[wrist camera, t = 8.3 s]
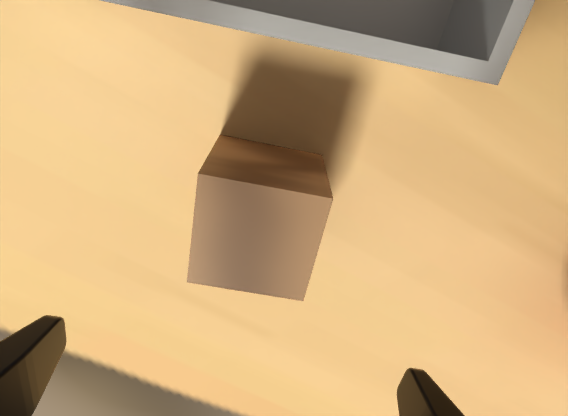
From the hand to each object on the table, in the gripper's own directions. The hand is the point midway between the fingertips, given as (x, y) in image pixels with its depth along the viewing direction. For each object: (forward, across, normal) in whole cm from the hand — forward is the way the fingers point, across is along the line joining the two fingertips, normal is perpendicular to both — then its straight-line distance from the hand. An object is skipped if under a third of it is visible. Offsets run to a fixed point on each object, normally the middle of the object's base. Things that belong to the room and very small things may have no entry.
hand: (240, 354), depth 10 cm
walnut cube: (+10, 0, 0) cm, 11 cm away
